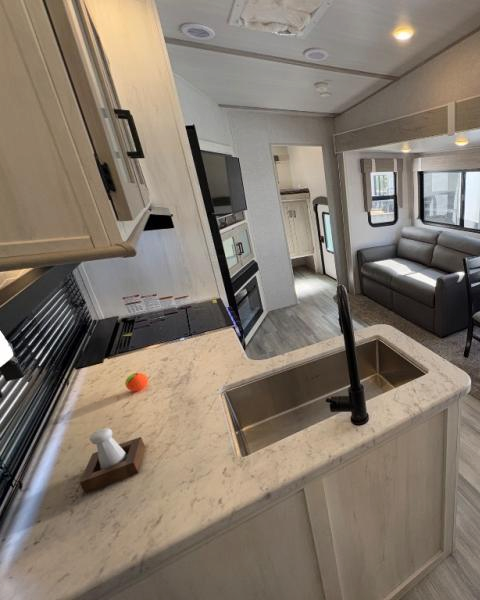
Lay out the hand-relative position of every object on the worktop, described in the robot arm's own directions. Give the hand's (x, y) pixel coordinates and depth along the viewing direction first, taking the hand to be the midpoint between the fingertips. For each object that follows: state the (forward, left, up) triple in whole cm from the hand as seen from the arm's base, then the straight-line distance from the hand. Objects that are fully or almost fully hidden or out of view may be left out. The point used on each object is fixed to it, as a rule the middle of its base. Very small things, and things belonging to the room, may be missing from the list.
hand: (5, 388), depth 73 cm
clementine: (+11, +41, -30) cm, 52 cm away
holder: (+13, -4, -30) cm, 33 cm away
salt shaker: (+13, -4, -30) cm, 33 cm away
